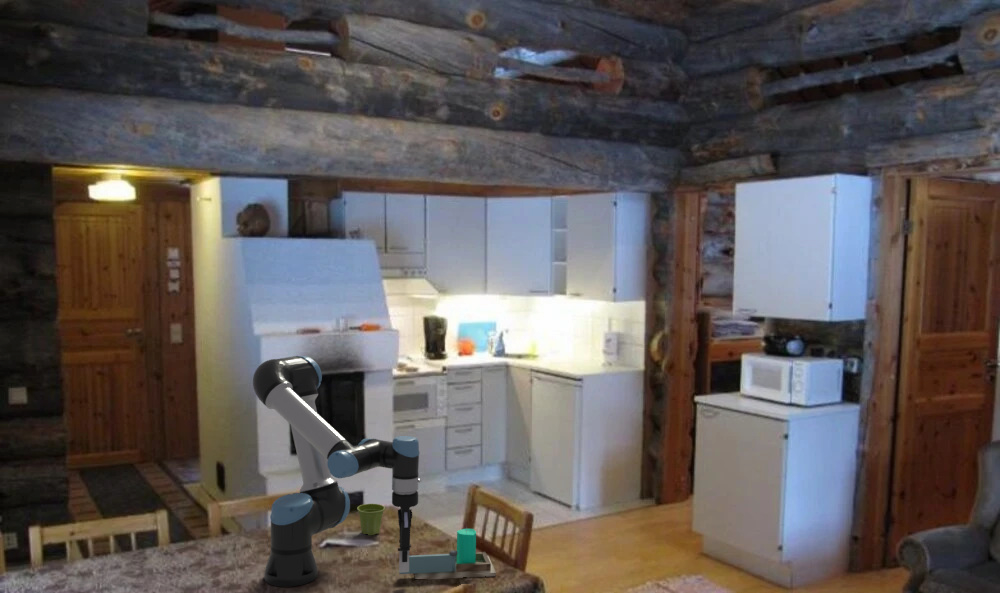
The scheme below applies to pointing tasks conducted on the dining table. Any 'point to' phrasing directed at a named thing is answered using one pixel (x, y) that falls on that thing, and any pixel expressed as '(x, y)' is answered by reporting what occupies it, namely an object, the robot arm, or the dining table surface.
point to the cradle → (464, 569)
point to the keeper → (432, 563)
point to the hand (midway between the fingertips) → (404, 571)
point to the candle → (466, 546)
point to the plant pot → (370, 518)
